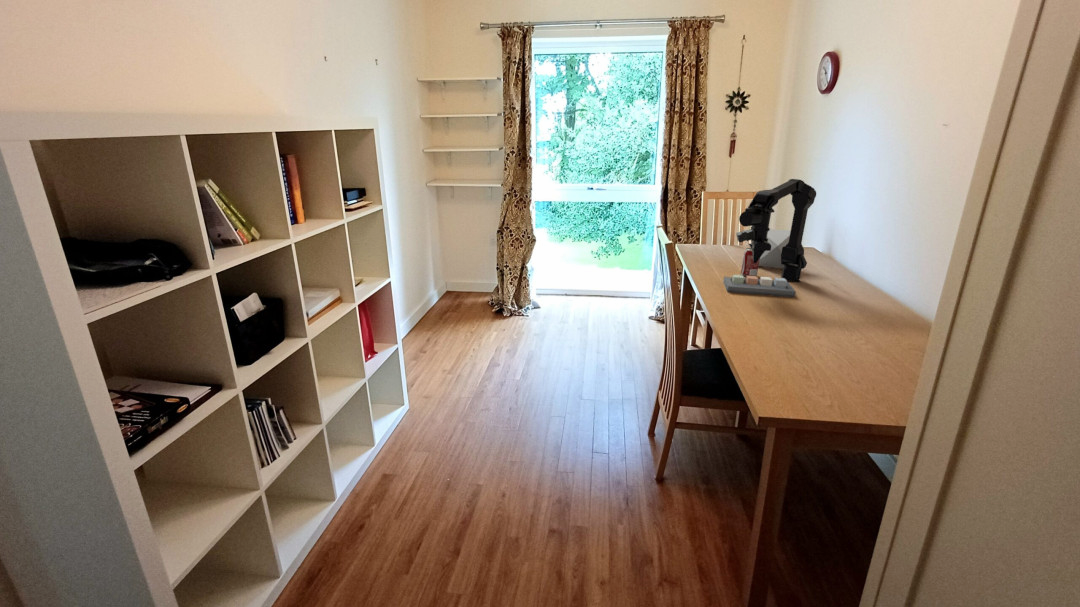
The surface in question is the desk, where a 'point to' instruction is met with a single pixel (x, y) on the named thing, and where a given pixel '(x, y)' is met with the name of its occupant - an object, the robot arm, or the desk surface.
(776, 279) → the key slate
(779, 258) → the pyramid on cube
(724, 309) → the desk surface
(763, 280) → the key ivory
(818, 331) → the desk surface
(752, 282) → the key terracotta
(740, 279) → the key sage
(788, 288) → the keypad board
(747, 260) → the soda can
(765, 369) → the desk surface
